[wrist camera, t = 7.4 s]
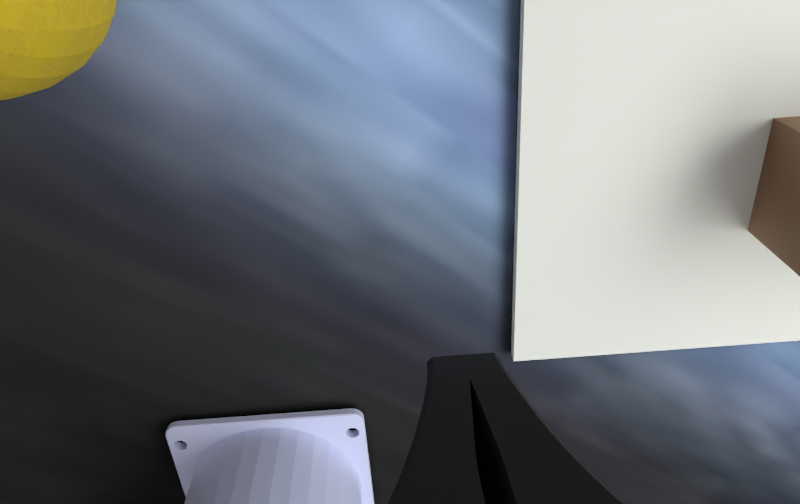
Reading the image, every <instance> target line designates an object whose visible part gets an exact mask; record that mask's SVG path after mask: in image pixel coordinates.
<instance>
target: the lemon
mask: <svg viewBox="0 0 800 504" xmlns="http://www.w3.org/2000/svg"><path fill="white" fill-rule="evenodd" d="M116 6H117V0H0V100H6V99H12V98H16V97H20V96H23V95H26V94H30V93H33V92H36V91H40V90H43V89H46V88H49V87H51V86H53V85H55V84H57V83H58V82H60V81H61V80H63V79H64V78H66V77H67V76H69V75H70V74H72V73H73V72H75V71H76V70H78V69H79V68H81V67H82V66H84V65H85V64H86V63H87V62H88V60H89V59H90V58H91V56H92V55H93V54H94V53H95V51H96V50H97V49H98V47H99V46H100V45H101V44H102V42H103V41H104V39H105V38H106V36H107V33H108V30H109V28H110V25H111V23H112V20H113V17H114V15H115V12H116Z"/></svg>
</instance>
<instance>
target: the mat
mask: <svg viewBox="0 0 800 504" xmlns="http://www.w3.org/2000/svg"><path fill="white" fill-rule="evenodd" d="M795 116H800V0H521V12H520V48H519V84H518V121H517V157H516V193H515V229H514V265H513V301H512V338H511V355H512V358H513V361H525V360H539V359H552V358H566V357H580V356H593V355H607V354H621V353H634V352H648V351H661V350H675V349H689V348H702V347H716V346H730V345H743V344H757V343H771V342H784V341H798V340H800V276H799V275H798V274H796V273H795V272H794V271H793V270H792V269H791V268H790V267H788V266H787V265H786V264H785V263H784V262H783V261H782V260H780V259H779V258H778V257H777V256H776V255H775V254H774V253H772V252H771V251H770V250H769V249H768V248H767V247H766V246H764V245H763V244H762V243H761V242H760V241H759V240H758V239H757V238H755V237H754V236H753V235H752V234H751V233H750V232H749V231H748V226H749V222H750V218H751V213H752V209H753V204H754V200H755V196H756V191H757V187H758V183H759V178H760V174H761V169H762V165H763V161H764V156H765V152H766V147H767V143H768V139H769V134H770V130H771V125H772V121H773V118H782V117H795Z"/></svg>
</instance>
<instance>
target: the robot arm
mask: <svg viewBox="0 0 800 504" xmlns="http://www.w3.org/2000/svg"><path fill="white" fill-rule="evenodd" d="M427 369H428V375H427V386H426V392H425V397H424V402H423V407H422V411H421V415H420V418H419V422H418V426H417V430H416V433H415V436H414V440H413V442H412V445H411V448H410V451H409V454H408V457H407V459H406V462H405V465H404V468H403V470H402V473H401V475H400V478H399V480H398V483H397V485H396V487H395V490H394V492H393V494H392V496H391V499H390V501H389V503H388V504H624V503H623V502H622V501H620V500H619V499H618V498H617V497H616V496H615V495H614V494H613V493H612V492H610V491H609V490H608V489H607V488H606V487H605V486H604V485H603V484H602V483H601V482H600V481H599V480H598V479H597V478H596V477H595V476H594V475H593V474H592V473H591V472H590V471H589V470H588V469H587V468H586V467H585V466H584V465H583V464H582V463H581V462H580V461H579V460H578V459H577V458H576V457H575V456H574V455H573V454H572V453H571V451H570V450H569V449H568V448H567V447H566V446H565V445H564V444H563V443H562V442H561V441H560V439H559V438H558V437H557V436H556V435H555V434H554V432H553V431H552V430H551V429H550V428H549V426H548V425H547V424H546V423H545V421H544V420H543V419H542V418H541V417H540V415H539V414H538V413H537V412H536V410H535V409H534V408H533V407H532V405H531V404H530V403H529V401H528V400H527V399H526V397H525V396H524V395H523V393H522V392H521V390H520V389H519V388H518V386H517V385H516V383H515V382H514V380H513V379H512V377H511V376H510V374H509V373H508V371H507V370H506V368H505V367H504V365H503V363H502V362H501V360H500V358H499V357H498V356H497V355H496V354H495V353H482V354H469V355H455V356H441V357H432V358H431V359H430V360H429V361H428V362H427ZM350 428H356V429H357V430H354V431H353V430H349V429H350ZM165 434H166V439H167V442H168V445H169V448H170V451H171V454H172V457H173V460H174V463H175V466H176V469H177V472H178V475H179V478H180V481H181V484H182V487H183V491H184V494H185V497H186V499H185V502H184V504H374V496H373V488H372V479H371V471H370V463H369V455H368V446H367V438H366V430H365V422H364V416H363V413H362V412H361V411H360V410H357V409H353V408H348V409H334V410H321V411H307V412H294V413H280V414H266V415H253V416H239V417H225V418H212V419H198V420H184V421H175V422H172V423H171V424H169V426H168V428H167V430H166V433H165ZM179 441H183V442H185V443H181V442H179Z"/></svg>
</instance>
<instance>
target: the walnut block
mask: <svg viewBox="0 0 800 504" xmlns="http://www.w3.org/2000/svg"><path fill="white" fill-rule="evenodd" d="M748 231H749V232H750V233H751V234H752V235H753V236H754V237H755V238H757V239H758V240H759V241H760V242H761V243H762V244H763V245H764V246H766V247H767V248H768V249H769V250H770V251H771V252H772V253H774V254H775V255H776V256H777V257H778V258H779V259H780V260H782V261H783V262H784V263H785V264H786V265H787V266H788V267H790V268H791V269H792V270H793V271H794V272H795V273H796V274H798V275H799V276H800V116H795V117H782V118H773V121H772V125H771V130H770V134H769V139H768V143H767V147H766V152H765V156H764V161H763V165H762V169H761V174H760V178H759V183H758V187H757V191H756V196H755V200H754V204H753V209H752V213H751V218H750V222H749V226H748Z"/></svg>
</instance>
